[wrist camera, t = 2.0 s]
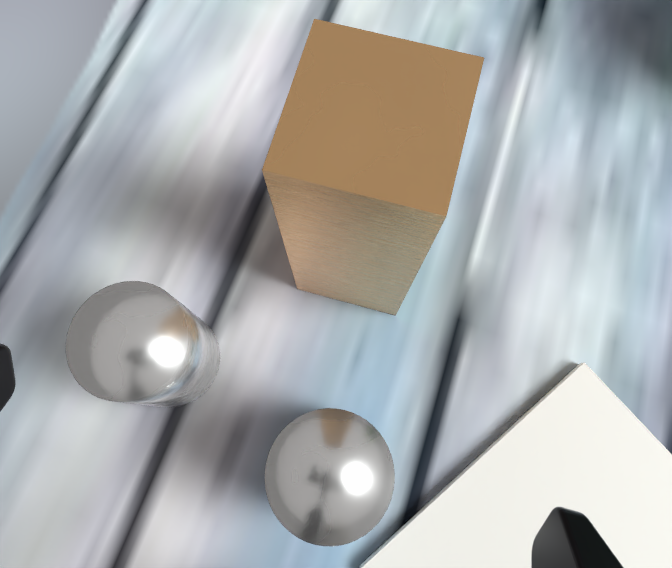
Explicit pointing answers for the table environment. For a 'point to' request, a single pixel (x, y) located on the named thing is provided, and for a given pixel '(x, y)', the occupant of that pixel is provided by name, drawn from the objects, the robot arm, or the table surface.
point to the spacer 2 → (329, 477)
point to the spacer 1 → (141, 347)
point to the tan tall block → (367, 160)
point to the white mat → (549, 488)
